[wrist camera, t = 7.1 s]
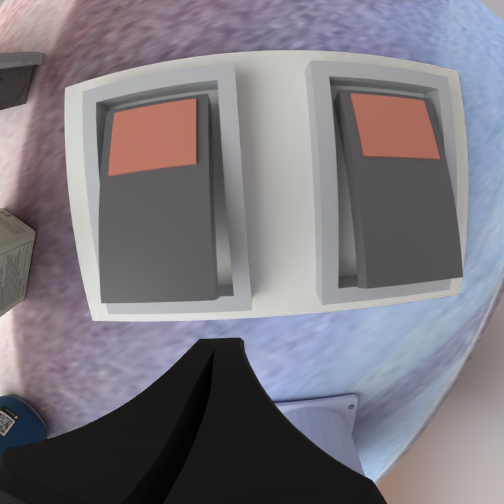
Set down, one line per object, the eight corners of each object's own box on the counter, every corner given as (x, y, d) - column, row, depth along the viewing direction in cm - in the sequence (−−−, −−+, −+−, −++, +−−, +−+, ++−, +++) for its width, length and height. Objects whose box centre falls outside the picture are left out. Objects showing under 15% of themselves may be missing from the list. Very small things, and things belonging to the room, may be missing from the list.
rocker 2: (449, 277, 13) (464, 277, 12) (358, 288, 13) (368, 288, 12) (419, 109, 14) (430, 97, 12) (333, 102, 14) (339, 87, 12)
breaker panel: (444, 283, 18) (473, 303, 15) (105, 307, 19) (81, 332, 15) (441, 77, 15) (472, 65, 11) (81, 94, 15) (50, 82, 12)
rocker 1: (219, 298, 13) (214, 300, 12) (113, 301, 13) (99, 303, 12) (211, 106, 14) (207, 91, 12) (116, 121, 14) (106, 109, 13)
